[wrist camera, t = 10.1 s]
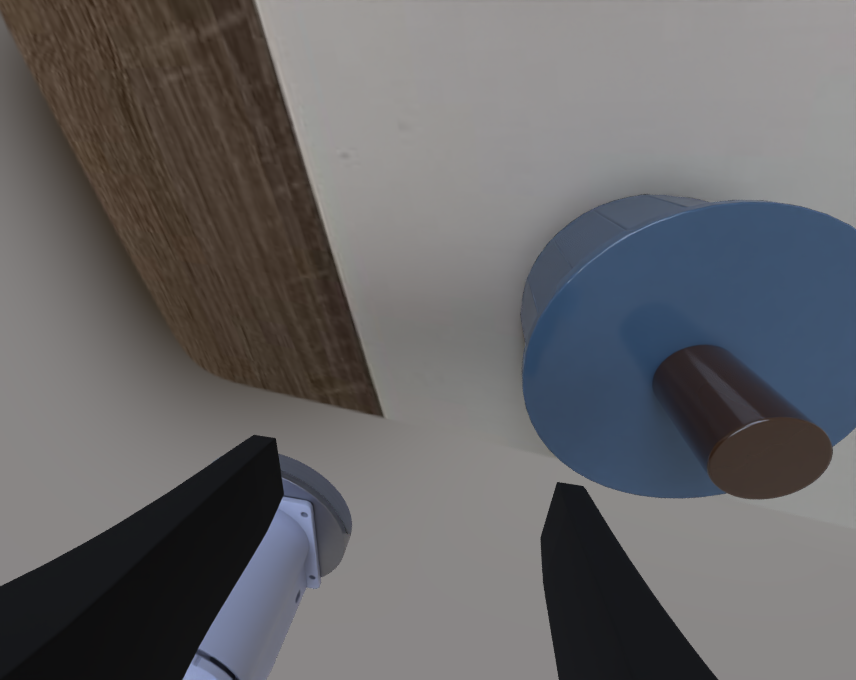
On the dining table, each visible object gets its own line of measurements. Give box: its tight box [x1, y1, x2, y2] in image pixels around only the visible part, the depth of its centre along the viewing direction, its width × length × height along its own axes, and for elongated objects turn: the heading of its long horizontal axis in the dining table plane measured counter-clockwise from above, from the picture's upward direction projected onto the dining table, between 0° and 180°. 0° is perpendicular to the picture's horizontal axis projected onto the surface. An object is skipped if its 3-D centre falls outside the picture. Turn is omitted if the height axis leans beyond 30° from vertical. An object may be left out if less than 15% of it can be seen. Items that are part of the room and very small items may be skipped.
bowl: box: [520, 194, 710, 345], centre depth 15 cm, size 9×9×6 cm
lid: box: [522, 200, 856, 499], centre depth 11 cm, size 10×10×5 cm
